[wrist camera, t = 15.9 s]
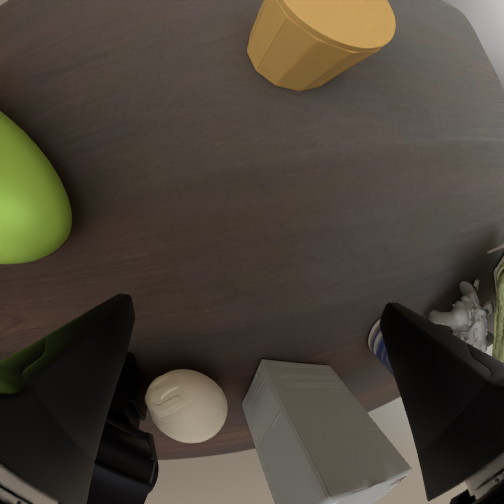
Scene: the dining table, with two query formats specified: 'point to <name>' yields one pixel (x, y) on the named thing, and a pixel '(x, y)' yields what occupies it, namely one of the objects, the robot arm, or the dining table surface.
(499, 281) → the washcloth
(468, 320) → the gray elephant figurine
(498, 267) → the small box
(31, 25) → the dining table surface
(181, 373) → the steamed bun
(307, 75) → the cup-cap
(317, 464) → the cosmetic box
